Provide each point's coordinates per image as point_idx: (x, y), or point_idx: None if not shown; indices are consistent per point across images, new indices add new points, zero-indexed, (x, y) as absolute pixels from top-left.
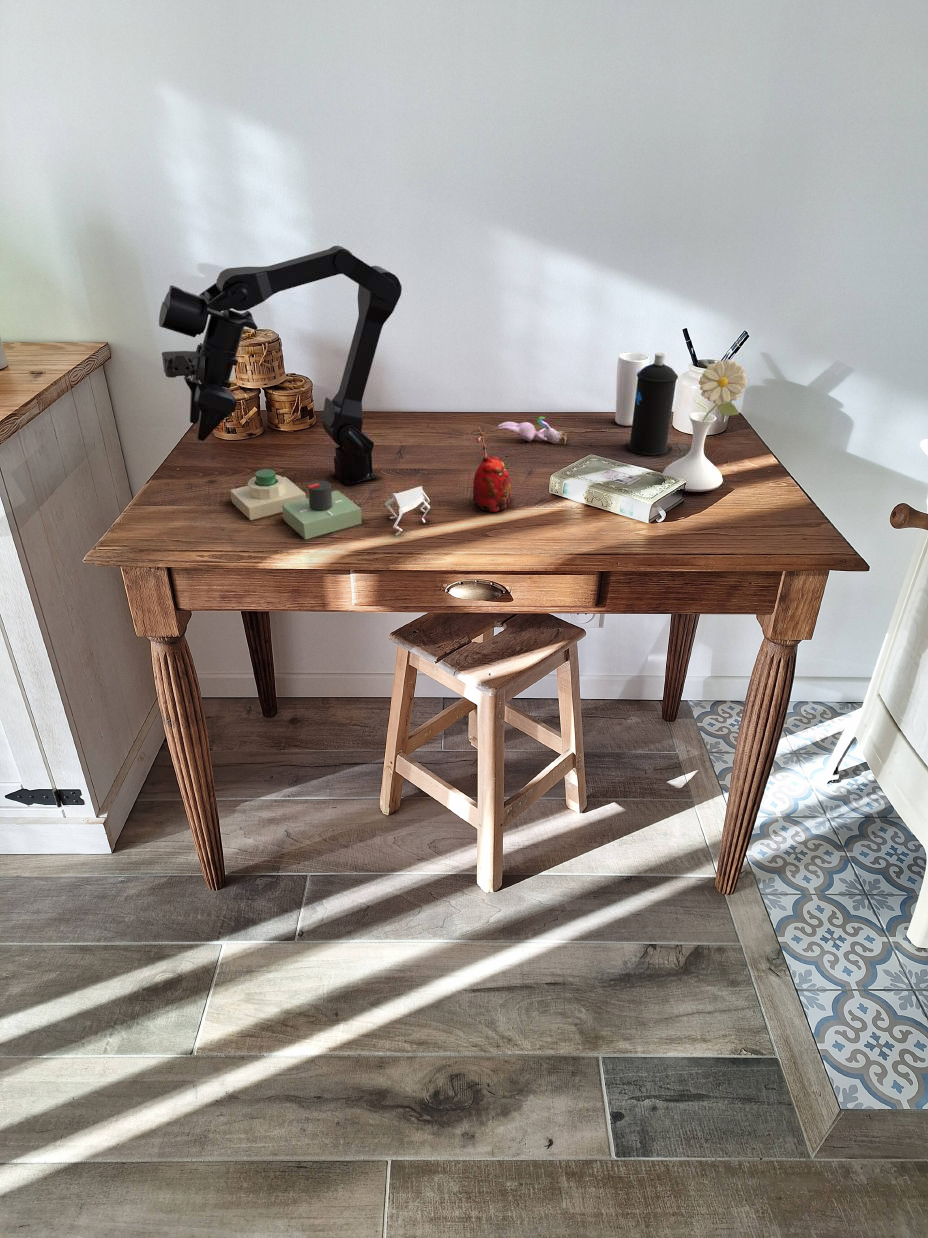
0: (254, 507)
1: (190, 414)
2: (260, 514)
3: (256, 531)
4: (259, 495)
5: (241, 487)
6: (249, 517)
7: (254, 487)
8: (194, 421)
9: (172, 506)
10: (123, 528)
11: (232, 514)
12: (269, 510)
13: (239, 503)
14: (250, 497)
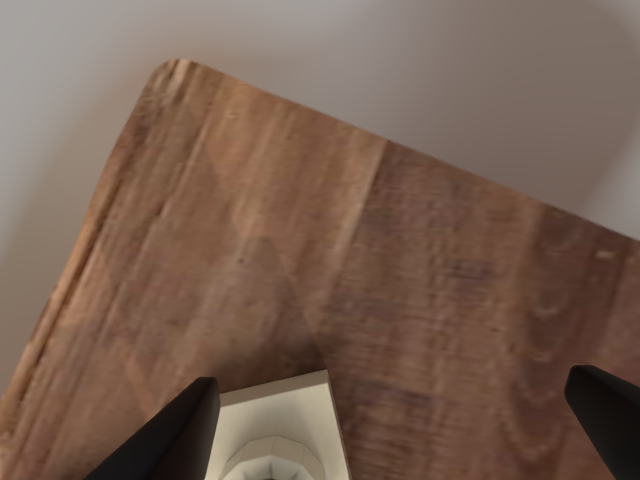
0: None
1: (633, 399)
2: None
3: (132, 402)
4: (224, 467)
5: (333, 419)
6: None
7: (233, 471)
8: (574, 396)
9: (355, 216)
10: (271, 97)
11: (252, 358)
12: None
13: (261, 391)
14: (250, 434)
